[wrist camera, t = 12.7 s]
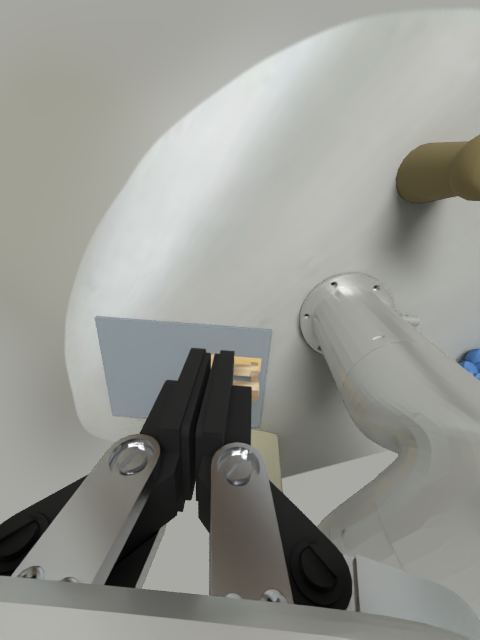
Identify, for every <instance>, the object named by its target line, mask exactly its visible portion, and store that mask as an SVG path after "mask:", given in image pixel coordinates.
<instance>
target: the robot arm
mask: <svg viewBox="0 0 480 640" xmlns="http://www.w3.org/2000/svg"><path fill="white" fill-rule="evenodd" d="M332 282H334V284H333V285H331V283H332ZM375 285H376V286H375ZM374 286H375V287H374ZM373 287H374V288H373ZM305 314H307V315H306V316H305ZM418 324H419V317H418V316H410V315H406V316H403V315H402V314H401V313H400V312H399V311H397V310H396V309H395V305H394V301H393V298H392V296H391V294H390V292H389V291H388V289H387V288H386V287H385V286H384V285H383V284H382V283H380V282H379V281H377V280H376V279H374V278H372V277H370V276H367V275H363V274H358V273H347V274H340V275H337V276H334V277H331V278H329V279H327V280H325V281H323V282H322V283H320V284H319V285H318V286H316V287H315V288H314V289H313V290H312V291H311V292H310V294H309V295H308V296H307V298H306V299H305V301H304V304H303V306H302V308H301V313H300V327H301V331H302V334H303V336H304V338H305V340H306V342H307V343H308V344H309V345H310V346H311V347H312V348H313V349H314V350H315V351H317V352H318V353H320V354H323V355H324V357H325V359H326V362H327V364H328V366H329V369H330V371H331V373H332V376H333V378H334V380H335V383H336V385H337V387H338V390H339V392H340V394H341V397H342V399H343V401H344V403H345V406H346V408H347V410H348V412H349V415H350V417H351V419H352V420H353V422H354V423H355V425H356V426H357V428H358V429H359V430H360V431H361V432H362V433H363V434H364V435H365V436H366V437H367V438H369V439H370V440H372V441H373V442H375V443H376V444H378V445H380V446H382V447H384V448H386V449H388V450H391V451H393V452H395V453H398V454H399V455H398V457H397V458H396V460H395V461H394V462H393V463H392V464H391V465H389V466H388V467H387V468H386V469H385V470H384V471H382V472H381V473H380V474H379V475H378V476H377V477H376V478H375V479H374V480H372V481H371V482H370V483H368V484H367V485H366V486H364V487H363V488H362V489H361V490H359V491H358V492H357V493H355V494H354V495H353V496H351V497H350V498H349V499H347V500H346V501H345V502H344V503H342V504H341V505H339V506H338V507H337V508H336V509H335V510H333V511H332V512H331V513H330V514H329V515H328V516H327V517H325V518H324V519H323V520H322V521H321V523H320V524H319V525H318V526H317V527H316V526H315V525H314V524H313V523H312V522H311V521H310V520H309V519H308V518H307V517H306V516H305V515H304V514H303V513H302V512H301V511H300V510H299V509H298V508H297V507H296V506H295V505H294V504H293V503H292V502H291V501H290V500H289V499H288V498H287V497H286V496H285V495H284V494H283V493H282V492H281V491H280V490H279V489H278V488H277V487H276V486H275V485H274V484H273V483H272V482H271V481H270V480H269V479H268V474H267V469H266V464H265V461H264V459H263V456H262V455H261V454H260V452H259V451H258V450H257V449H255V448H254V447H252V446H251V408H252V387H251V386H238V385H233V372H234V355H235V351H226V350H221V351H220V354H217V353H215V355H214V359H213V363H212V367H211V353H206V349H201V348H191V350H190V352H189V354H188V357H187V359H186V362H185V364H184V366H183V369H182V371H181V374H180V376H179V378H178V381H177V380H166V381H165V383H164V384H163V386H162V389H161V391H160V393H159V395H158V397H157V399H156V401H155V403H154V405H153V407H152V409H151V411H150V413H149V415H148V418H147V420H146V422H145V424H144V426H143V428H142V430H141V432H140V434H135V435H129V436H127V437H124V438H121V439H120V440H118V441H117V442H115V443H114V444H113V445H112V446H111V447H110V448H109V449H108V450H107V451H106V452H105V454H104V455H103V456H102V458H101V459H100V460H99V462H98V463H97V464H96V466H95V467H94V468H93V469H92V471H91V472H90V473H89V474H88V475H87V476H85V477H83V478H81V479H79V480H77V481H76V482H74V483H72V484H70V485H68V486H66V487H65V488H63V489H61V490H59V491H57V492H56V493H54V494H52V495H50V496H48V497H46V498H45V499H43V500H41V501H39V502H37V503H35V504H34V505H32V506H30V507H28V508H26V509H25V510H23V511H21V512H19V513H17V514H15V515H14V516H12V517H11V518H9V519H8V520H6V521H5V522H3V523H2V524H0V640H480V380H479V379H477V378H476V377H475V376H473V375H472V374H471V373H470V372H468V371H467V370H466V369H464V368H463V367H462V366H461V365H459V364H458V363H457V362H456V361H454V360H453V359H452V358H451V357H450V356H448V355H447V354H446V353H445V352H443V351H442V350H441V349H439V348H438V347H437V346H436V345H435V344H433V343H432V342H431V341H430V340H429V339H427V338H426V337H425V336H424V335H423V334H422V333H421V332H419V331H418V330H417V329H415V328H414V327H413V326H418ZM195 481H196V501H198V506H199V507H198V510H199V512H198V513H199V519H200V520H201V522H202V523H203V525H204V526H205V527H206V529H207V530H208V532H209V596H207V595H198V594H188V593H177V592H167V591H157V590H146V589H142V586H143V584H144V582H145V579H146V577H147V574H148V572H149V569H150V567H151V564H152V562H153V559H154V557H155V554H156V552H157V549H158V547H159V545H160V542H161V540H162V537H163V535H164V532H165V528H166V523H168V522H169V521H170V520H171V519H172V518H174V517H175V516H177V512H178V511H180V512H183V508H184V503H185V500H191V499H192V495H193V491H194V485H195Z"/></svg>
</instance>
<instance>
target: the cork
mask: <svg viewBox="0 0 480 640" xmlns="http://www.w3.org/2000/svg"><path fill="white" fill-rule="evenodd" d="M396 181H397V189H398V191H399V194H400V195H401V196H402V197H403V198H404V199H405V200H406V201H409V202H411V203H425V202H430V201H435V200H440V199H445V198H450V197H455V196H459V197H461V198H464V199H466V200H471V201H480V135H479V136H477V137H475V138H474V139H472V140H471V141H468V142H444V143H428V144H424V145H421V146H419V147H417V148H416V149H414V150H413V151H411V152H410V153H409V154H408V155H407V156H406V158H405V159H404V160H403V162H402V164H401V165H400V167H399V170H398V173H397V177H396Z"/></svg>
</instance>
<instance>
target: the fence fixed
mask: <svg viewBox="0 0 480 640" xmlns="http://www.w3.org/2000/svg"><path fill="white" fill-rule="evenodd" d="M212 363H213V362H211V367H212ZM258 374H259V366H258V363H257V362H251V365H242V364H234V372H233V375H237V376H249V377H251V382H246V381H234V380H233V385H238V386H251V387H252V401H258V397H259V383H258Z"/></svg>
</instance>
